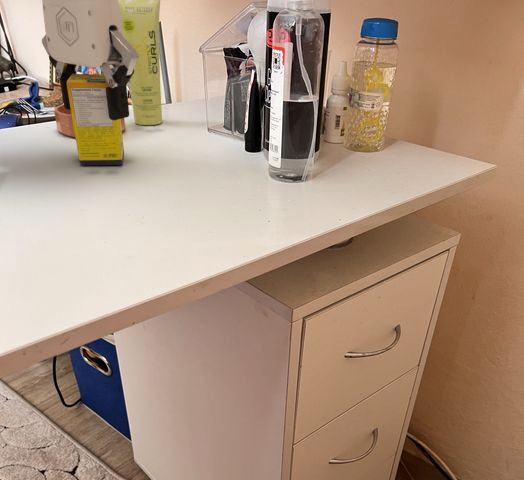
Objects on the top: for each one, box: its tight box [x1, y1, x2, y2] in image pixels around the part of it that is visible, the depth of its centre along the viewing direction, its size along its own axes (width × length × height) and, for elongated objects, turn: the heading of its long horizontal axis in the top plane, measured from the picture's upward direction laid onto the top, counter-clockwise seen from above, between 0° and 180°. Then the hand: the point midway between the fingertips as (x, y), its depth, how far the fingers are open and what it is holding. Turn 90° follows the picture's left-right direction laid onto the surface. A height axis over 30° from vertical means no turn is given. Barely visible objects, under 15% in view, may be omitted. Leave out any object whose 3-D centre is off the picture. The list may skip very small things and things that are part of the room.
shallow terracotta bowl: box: [53, 103, 126, 139], centre depth 89 cm, size 11×11×4 cm
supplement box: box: [67, 73, 125, 167], centre depth 74 cm, size 6×6×11 cm
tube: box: [118, 0, 163, 126], centre depth 90 cm, size 6×5×20 cm
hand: (96, 112), depth 74 cm, fingers closed on supplement box, 8 cm apart
